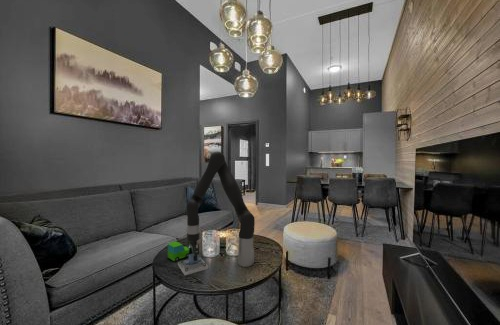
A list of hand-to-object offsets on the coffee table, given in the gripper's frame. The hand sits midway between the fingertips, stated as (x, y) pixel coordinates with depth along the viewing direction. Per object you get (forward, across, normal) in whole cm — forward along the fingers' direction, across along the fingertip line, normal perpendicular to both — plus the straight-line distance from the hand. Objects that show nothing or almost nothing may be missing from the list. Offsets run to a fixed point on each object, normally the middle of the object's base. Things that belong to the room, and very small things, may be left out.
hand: (193, 258), depth 131 cm
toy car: (+6, +17, +3) cm, 18 cm away
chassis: (+6, 0, 0) cm, 6 cm away
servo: (+4, 0, 0) cm, 4 cm away
